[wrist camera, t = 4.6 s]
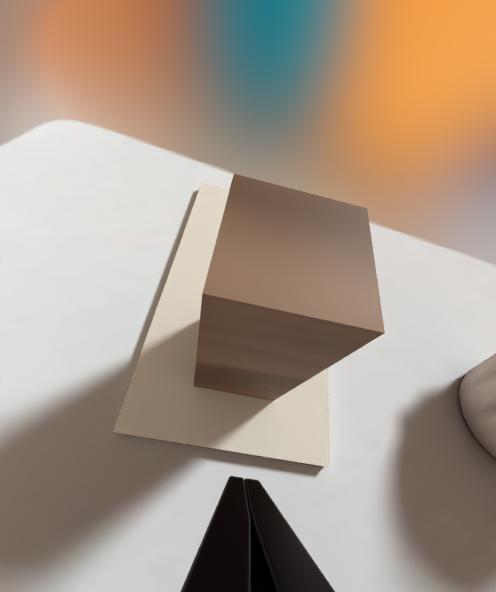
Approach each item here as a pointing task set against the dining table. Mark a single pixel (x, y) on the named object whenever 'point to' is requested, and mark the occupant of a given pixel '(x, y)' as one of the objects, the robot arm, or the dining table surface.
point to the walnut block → (284, 290)
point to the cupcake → (481, 402)
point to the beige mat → (205, 402)
